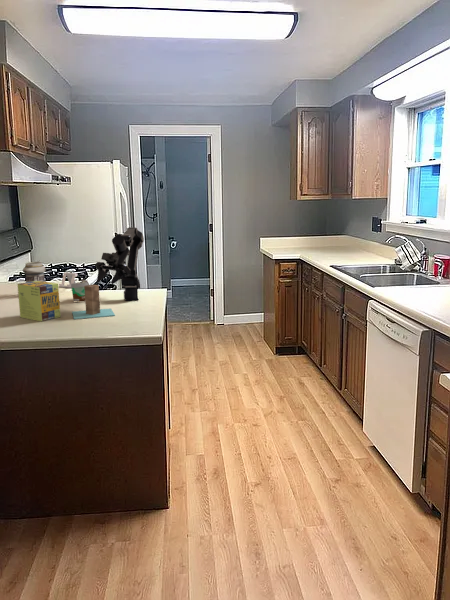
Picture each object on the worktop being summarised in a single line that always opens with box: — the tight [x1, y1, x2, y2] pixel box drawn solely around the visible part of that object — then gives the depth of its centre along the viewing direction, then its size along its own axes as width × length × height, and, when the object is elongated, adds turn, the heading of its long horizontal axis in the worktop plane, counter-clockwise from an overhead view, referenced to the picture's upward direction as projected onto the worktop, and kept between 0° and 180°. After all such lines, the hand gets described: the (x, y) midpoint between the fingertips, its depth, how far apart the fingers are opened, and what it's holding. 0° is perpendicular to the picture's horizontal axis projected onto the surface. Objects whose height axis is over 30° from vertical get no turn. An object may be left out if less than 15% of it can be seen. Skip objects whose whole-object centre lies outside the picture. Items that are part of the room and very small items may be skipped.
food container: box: [70, 279, 90, 302], centre depth 263 cm, size 12×6×10 cm, turn 168°
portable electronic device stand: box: [58, 271, 78, 289], centre depth 302 cm, size 9×8×8 cm
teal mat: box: [71, 308, 116, 320], centre depth 235 cm, size 18×14×1 cm
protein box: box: [17, 281, 61, 322], centre depth 228 cm, size 10×15×16 cm
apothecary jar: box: [22, 261, 47, 283], centre depth 278 cm, size 12×12×18 cm
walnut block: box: [84, 283, 101, 315], centre depth 233 cm, size 4×4×13 cm
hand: (104, 282), depth 238 cm, fingers open, 9 cm apart
